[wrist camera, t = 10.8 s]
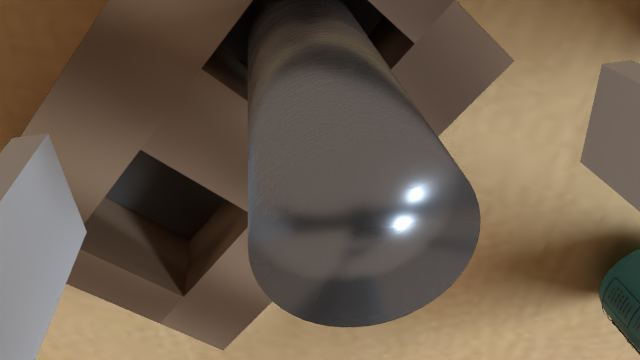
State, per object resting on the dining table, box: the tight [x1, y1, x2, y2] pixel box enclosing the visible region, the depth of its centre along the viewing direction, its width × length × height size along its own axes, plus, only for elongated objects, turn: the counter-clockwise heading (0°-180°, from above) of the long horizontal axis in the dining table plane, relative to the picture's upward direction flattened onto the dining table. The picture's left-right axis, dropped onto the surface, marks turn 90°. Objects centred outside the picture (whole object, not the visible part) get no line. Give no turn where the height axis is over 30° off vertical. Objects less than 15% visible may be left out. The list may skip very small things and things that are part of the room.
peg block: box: [21, 0, 514, 350], centre depth 21 cm, size 18×12×6 cm, turn 139°
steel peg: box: [248, 0, 480, 327], centre depth 15 cm, size 4×4×14 cm
